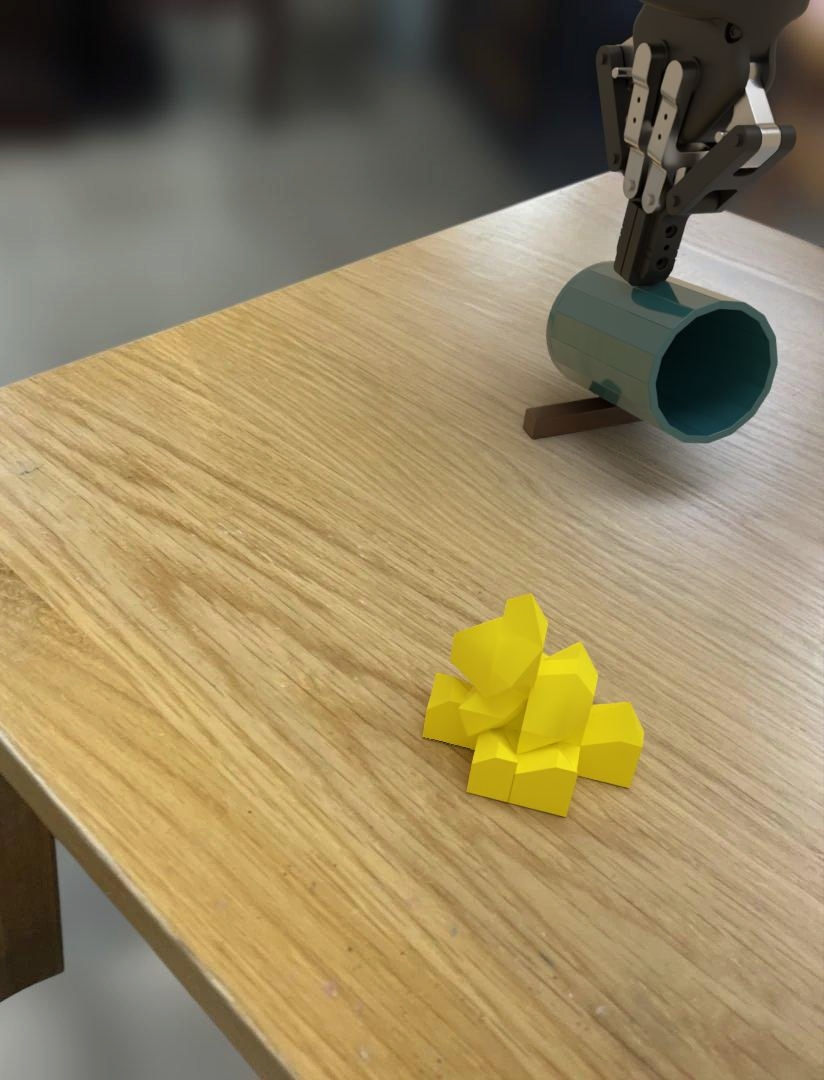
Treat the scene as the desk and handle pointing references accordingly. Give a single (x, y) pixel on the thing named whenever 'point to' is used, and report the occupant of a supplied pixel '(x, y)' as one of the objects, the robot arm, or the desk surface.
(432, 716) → the yellow faceted cluster
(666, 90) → the robot arm
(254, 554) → the desk surface
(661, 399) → the cup
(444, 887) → the desk surface
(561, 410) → the strip
